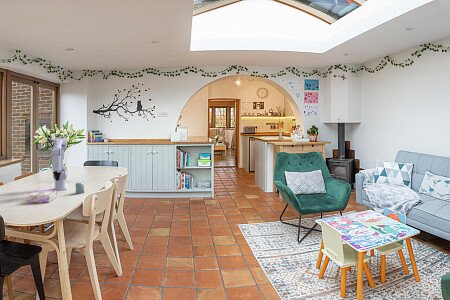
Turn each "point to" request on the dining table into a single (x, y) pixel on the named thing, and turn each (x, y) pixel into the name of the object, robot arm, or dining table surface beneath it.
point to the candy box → (42, 196)
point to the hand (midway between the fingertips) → (57, 180)
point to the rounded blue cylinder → (79, 188)
